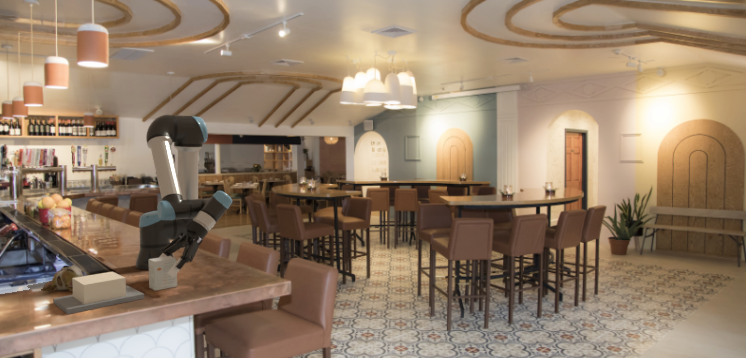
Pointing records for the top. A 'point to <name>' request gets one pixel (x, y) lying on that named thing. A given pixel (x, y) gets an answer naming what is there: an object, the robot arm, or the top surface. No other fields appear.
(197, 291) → the top surface
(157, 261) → the small box
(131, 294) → the pedestal
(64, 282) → the ceramic sculpture
